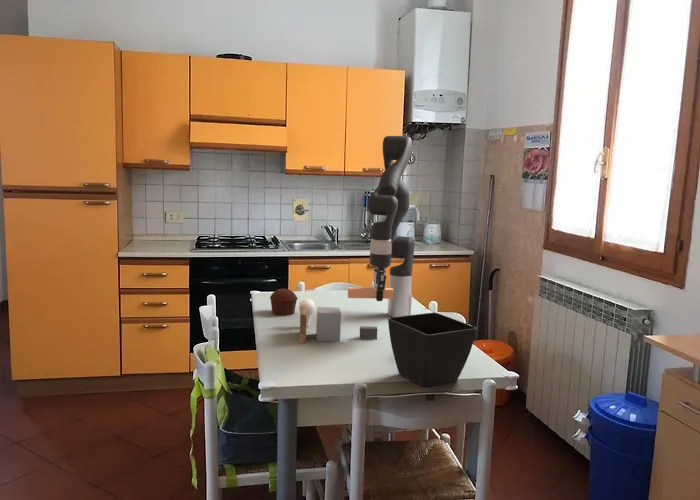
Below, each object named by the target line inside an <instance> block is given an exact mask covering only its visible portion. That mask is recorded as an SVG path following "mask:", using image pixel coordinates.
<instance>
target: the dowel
mask: <svg viewBox="0 0 700 500" xmlns="http://www.w3.org/2000/svg"><path fill="white" fill-rule="evenodd" d="M376 293H377V290H376V288H375V287H365V286H363V287H358V286H357V287H354V286H352V287H351V286H347V298H348V299H376ZM393 294H394V290H393V288H389V287H385V289H384V291H383V300H384V299H385V300H386V299H387V300H388V299H393Z"/></svg>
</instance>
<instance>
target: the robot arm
mask: <svg viewBox="0 0 700 500" xmlns="http://www.w3.org/2000/svg"><path fill="white" fill-rule="evenodd" d="M413 148H414V147H413V140H412V137H410V136H407V135H387V136H384V137H383V140H382V156H383V165H384V166H383V167H384V171H383V172H382V174H381V175H380V178H379V182H378V185H377V187H376V188H375V189H374V191H373V192H372V193H371V195H370V196H369V198H368V200H367V205H366V207H367V211H368V212H369V213H370V215H372V216H386V218H385V219H383V221H382V220H381V221H375V222H374V223H372V225H371V235H370V236H371V240H370V244H369V245H370V247H369V265H370V266H371V267H372V266H373V267H375V268H374V269H373V285H374V287H373V288H376V290H377V293H376V298H375V300H376V302H383V300H384V299H383V291H384V289H385V288H386V279H387V271H386V270H385V267H390V266H391V265H392V259H398V260H399V259H401V260H403V262H402V263H399V264H398V265H393V266H391V267H390V268H389V276H388V277H389V278H388V279H389V281H388V288H393V290H394V294H393V299H387V300H388V301H387V316H389V317H390V318H392V317H400V316H408V315H412V302H413V301H412V300H413V299H412V298H413V297H412V296H413V295H412V280H413V279H412V277H413V276H412V275H413V266H414V263H413V262H414V254H415V239H414V238H413V237H411V236H404V235H403V236H402V235H398V234H397V232H398V231H397V230H398V228H399V226H400V223H401V222H402V220H403V219H404V218H405V216H406V215H407V213H408V212H409V210H410V191H409V189H408V186H407V185H406V183H405V182H404V181H403V179H402V176H403V174H404V172H405V170H406V168H407V166H408V164H409V161H410V159H411V157H412V153H413V150H414V149H413Z"/></svg>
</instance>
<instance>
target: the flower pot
mask: <svg viewBox="0 0 700 500" xmlns="http://www.w3.org/2000/svg"><path fill="white" fill-rule="evenodd" d="M387 322H388V332H389V339H390V345H391V349H392V354H393V358H394V362H395V364H396V368H397V372H398V374H399V375H401V376H403V377H405V378H407V379H408V380H410V381H413V382H414V383H416V384H418V385H420V386H421V387H425V388H428V387H434V386H439V385H443V384H448V383H454V382H457V381H458V380H459V378H460V376H461V373H462V372H463V369H464V368H465V366H466V363H467V360H468V358H469V356H470V353H471V351H472V347H473V345H474V342H475V338H476V334H477V331H478V327H476V326H474V325H470V324H469V323H465V322H463V321H461V320H458V319H456V318H452V317H449V316H447V315H443V314H441V313H437V312H427V313H425V312H424V313H418V314H416V313H415V314H411V315H408V316H400V317H388V318H387Z"/></svg>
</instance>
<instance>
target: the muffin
mask: <svg viewBox="0 0 700 500" xmlns="http://www.w3.org/2000/svg"><path fill="white" fill-rule="evenodd" d="M269 298H270V304H271V313H272V314H273V315H274V316H281V317H288V316H293V315H294V314H295V310H296V307H297V301H298V297H297V295H296V294H295V292H294V291H293V290H291V289H288V288H278V289H276V290H274V291H273V292H272V293H271V295H270V297H269Z"/></svg>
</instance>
